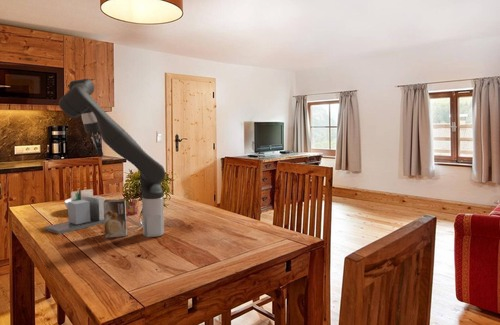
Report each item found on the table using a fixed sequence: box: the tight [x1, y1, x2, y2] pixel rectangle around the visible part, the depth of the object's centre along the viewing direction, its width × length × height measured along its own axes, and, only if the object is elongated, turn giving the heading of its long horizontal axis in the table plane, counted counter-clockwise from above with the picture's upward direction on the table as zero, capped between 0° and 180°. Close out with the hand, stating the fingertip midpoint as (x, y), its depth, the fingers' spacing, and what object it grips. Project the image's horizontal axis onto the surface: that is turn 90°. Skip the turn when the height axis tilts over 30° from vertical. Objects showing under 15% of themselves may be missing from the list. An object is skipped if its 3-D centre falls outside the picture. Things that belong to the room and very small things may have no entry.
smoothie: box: [126, 200, 140, 216], centre depth 195 cm, size 8×8×20 cm
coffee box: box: [103, 198, 128, 239], centre depth 157 cm, size 9×6×16 cm
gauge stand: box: [44, 188, 105, 235], centre depth 171 cm, size 24×12×16 cm, turn 145°
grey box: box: [67, 189, 90, 225], centre depth 172 cm, size 7×8×15 cm
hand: (101, 155), depth 174 cm, fingers closed
